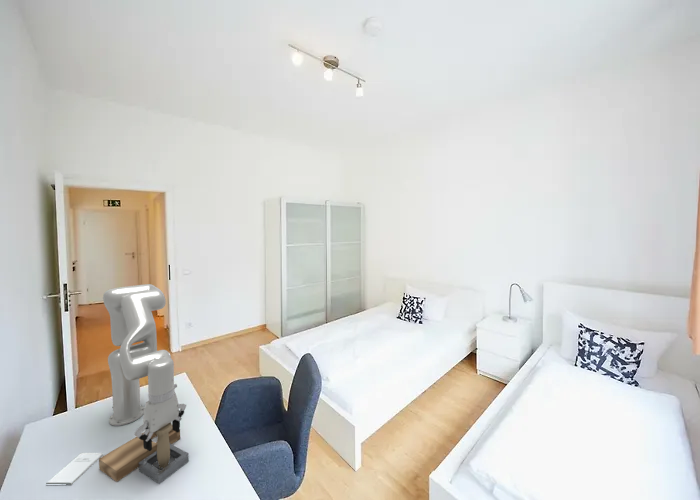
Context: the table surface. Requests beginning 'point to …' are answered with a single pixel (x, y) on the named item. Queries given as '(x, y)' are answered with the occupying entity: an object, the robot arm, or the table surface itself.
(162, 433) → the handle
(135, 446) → the wooden box
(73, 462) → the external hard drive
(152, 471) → the collar
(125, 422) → the robot arm
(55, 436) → the table surface
